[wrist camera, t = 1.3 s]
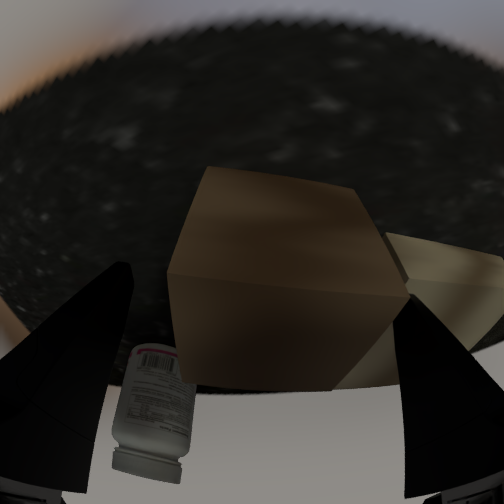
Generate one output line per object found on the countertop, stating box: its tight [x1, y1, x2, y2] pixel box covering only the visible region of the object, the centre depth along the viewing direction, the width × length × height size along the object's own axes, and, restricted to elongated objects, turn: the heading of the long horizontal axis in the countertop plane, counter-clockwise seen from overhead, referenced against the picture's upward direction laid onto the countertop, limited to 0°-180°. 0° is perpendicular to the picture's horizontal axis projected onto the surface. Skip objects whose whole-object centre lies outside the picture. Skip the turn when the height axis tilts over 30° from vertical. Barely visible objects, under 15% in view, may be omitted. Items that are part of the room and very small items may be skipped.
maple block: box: [333, 232, 504, 390], centre depth 12 cm, size 9×9×3 cm
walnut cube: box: [167, 166, 410, 392], centre depth 9 cm, size 5×5×5 cm
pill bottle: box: [112, 343, 197, 484], centre depth 14 cm, size 5×5×8 cm
